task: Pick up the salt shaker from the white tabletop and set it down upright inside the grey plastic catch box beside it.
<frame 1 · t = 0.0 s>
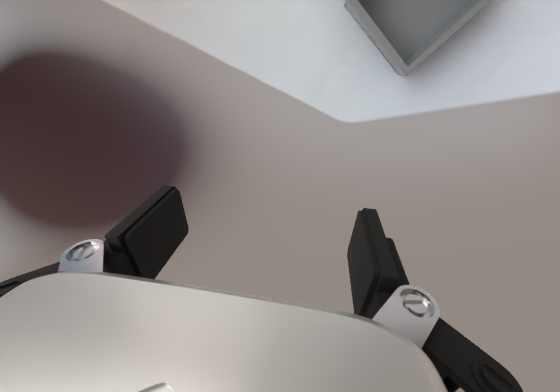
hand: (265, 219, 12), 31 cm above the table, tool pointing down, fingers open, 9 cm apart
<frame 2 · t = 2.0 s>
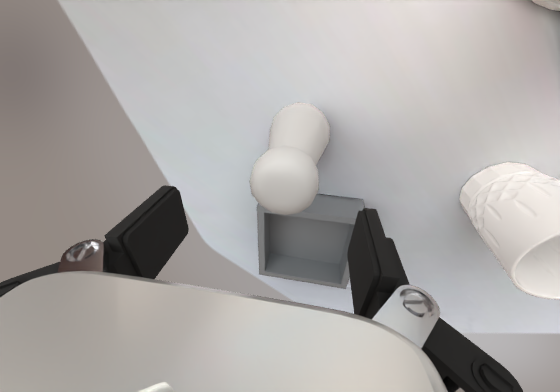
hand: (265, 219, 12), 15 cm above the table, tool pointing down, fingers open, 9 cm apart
salt shaker: (302, 126, 24), on the table
white cup: (494, 189, 24), on the table
catch box: (307, 229, 32), on the table
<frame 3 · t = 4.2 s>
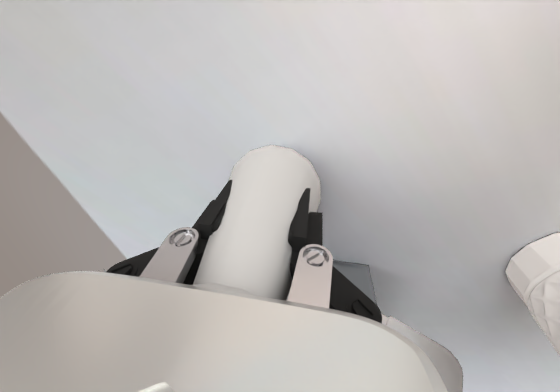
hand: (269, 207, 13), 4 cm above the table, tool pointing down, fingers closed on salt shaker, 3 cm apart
salt shaker: (280, 172, 17), on the table, touching gripper
white cup: (558, 260, 17), on the table
catch box: (294, 295, 24), on the table
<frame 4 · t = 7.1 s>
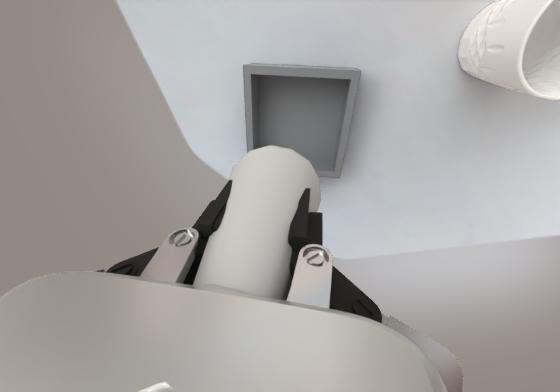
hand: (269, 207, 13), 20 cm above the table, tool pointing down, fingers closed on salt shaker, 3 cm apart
salt shaker: (280, 173, 17), point 16 cm above the table, touching gripper
white cup: (494, 40, 23), on the table
catch box: (299, 118, 30), on the table
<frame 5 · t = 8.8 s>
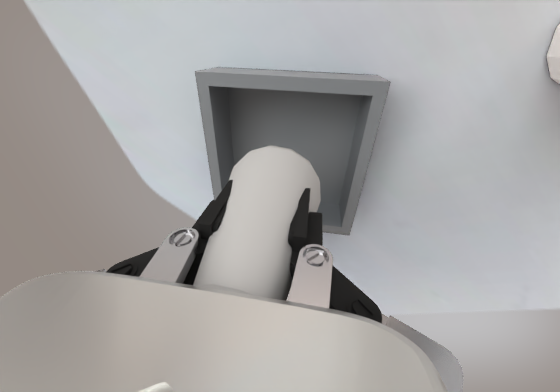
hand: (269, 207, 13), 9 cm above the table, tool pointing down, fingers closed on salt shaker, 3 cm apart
salt shaker: (280, 173, 17), point 5 cm above the table, touching gripper
catch box: (290, 146, 21), on the table
when the fingers open (6 cm above the table, at t = 10.1 s): salt shaker drops 1 cm, resting on catch box.
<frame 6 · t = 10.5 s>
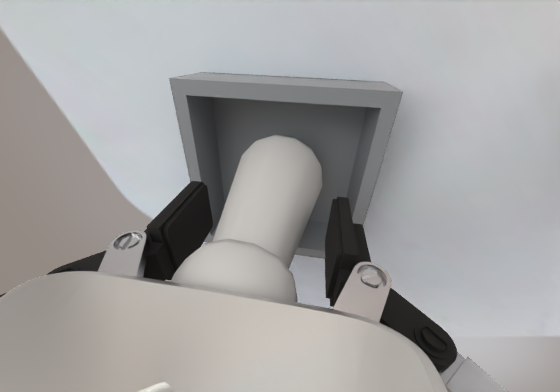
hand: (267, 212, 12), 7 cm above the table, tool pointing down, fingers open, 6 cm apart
salt shaker: (285, 162, 18), resting on catch box
catch box: (284, 161, 18), on the table
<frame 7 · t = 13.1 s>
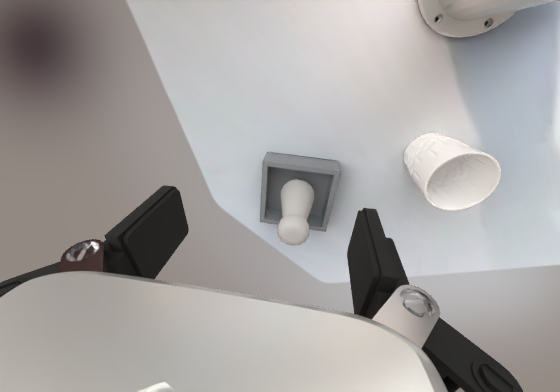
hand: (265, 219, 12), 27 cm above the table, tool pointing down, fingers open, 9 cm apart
salt shaker: (298, 187, 41), resting on catch box
white cup: (425, 153, 36), on the table
catch box: (297, 187, 42), on the table
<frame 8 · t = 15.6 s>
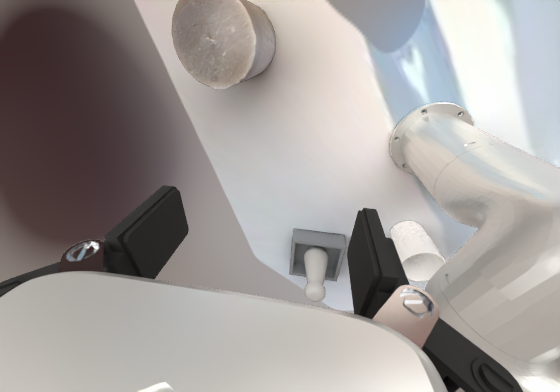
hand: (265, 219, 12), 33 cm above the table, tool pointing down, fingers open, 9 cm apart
salt shaker: (316, 250, 58), resting on catch box
white cup: (405, 231, 51), on the table
catch box: (315, 249, 58), on the table
pillar candle: (247, 43, 37), on the table
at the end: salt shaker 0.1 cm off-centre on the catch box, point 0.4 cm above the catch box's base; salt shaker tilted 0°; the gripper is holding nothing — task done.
